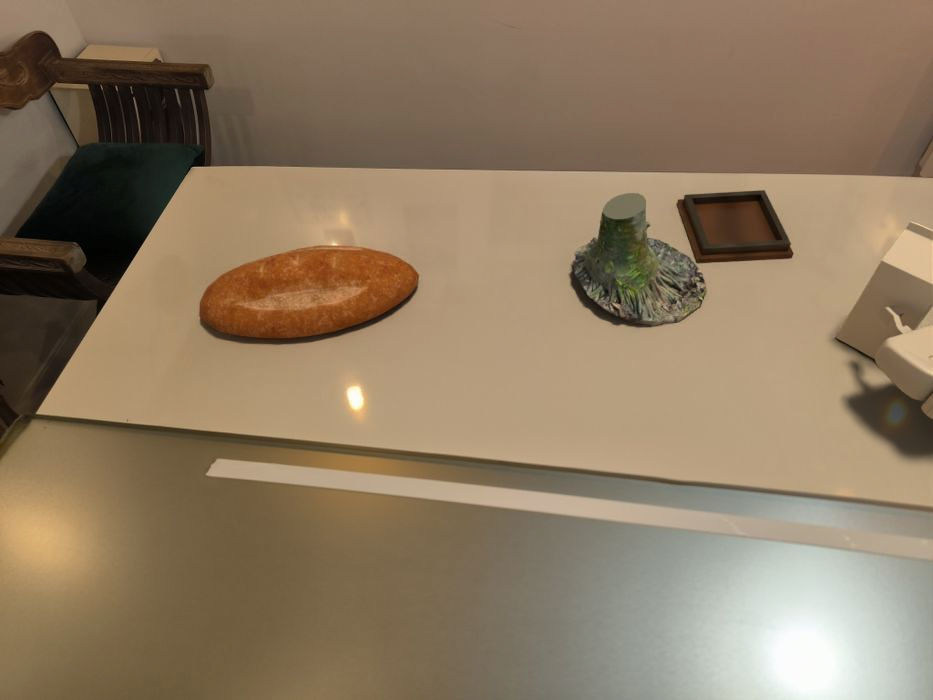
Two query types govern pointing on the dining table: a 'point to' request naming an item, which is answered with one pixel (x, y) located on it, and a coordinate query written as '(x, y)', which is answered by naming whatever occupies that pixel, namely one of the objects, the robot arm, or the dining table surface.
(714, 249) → the tray
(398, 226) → the dining table surface
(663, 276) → the tree stump
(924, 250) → the milk carton
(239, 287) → the bread
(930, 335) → the robot arm
